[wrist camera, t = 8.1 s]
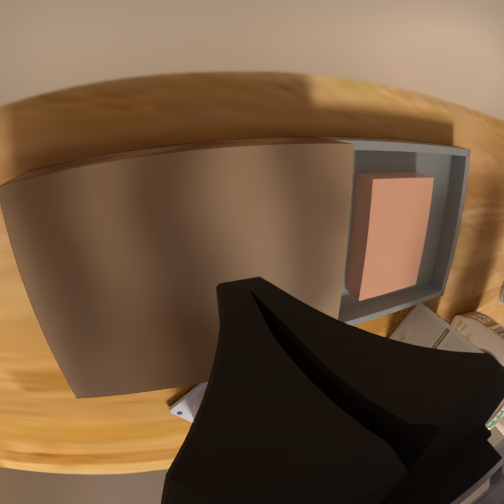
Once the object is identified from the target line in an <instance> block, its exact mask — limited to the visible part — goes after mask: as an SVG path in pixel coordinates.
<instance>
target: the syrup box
mask: <svg viewBox="0 0 504 504" xmlns="http://www.w3.org/2000/svg"><path fill="white" fill-rule="evenodd" d="M389 339H393V340H397V341H401V342H404V343H408V344H413V345H418V346H423V347H428V348H435V349H441V350H448V351H459V352H474V353H484V352H483V351H481V350H480V349H479V348H478V347H477V346H475V345H474V344H473V343H472V342H471V341H469V340H468V339H467V338H466V337H465V336H463V335H462V334H461V333H460V332H458V331H457V330H456V329H455V328H453V327H452V326H451V325H450V324H449V323H447V322H446V321H445V320H444V319H442V318H441V317H440V316H439V315H437V314H436V313H435V312H434V311H432V310H431V309H430V308H428V307H427V306H426V305H424V304H423V303H420V304H417V305H415V307H414V308H413V309H412V310H411V311H410V312H409V313H408V315H407V316H406V317H405V318H404V320H403V321H402V322H401V323H400V325H399V326H398V327H397V328H396V330H395V331H394V332H393V333H392V334H391V336H390V337H389ZM503 416H504V399H503V400H502V402H501V403H500V405H499V406H498V408H497V409H496V410H495V412H494V413H493V415H492V416H491V417H490V419H489V420H488V421H487V423H486V424H485V426H486V427H487V428H488V429H489V430H490V429H491V428H493V427H494V426H495V425H496V424H497V423H498V421H499V420H500V419H501V418H502V417H503Z"/></svg>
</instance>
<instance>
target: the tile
mask: <svg viewBox="0 0 504 504" xmlns="http://www.w3.org/2000/svg"><path fill="white" fill-rule="evenodd" d="M433 181H434V178H433V177H431V176H428V175H425V174H422V173H419V172H366V173H355V188H354V203H353V216H352V228H351V239H350V249H349V259H348V267H347V276H346V284H345V289H346V290H347V291H348V292H349V293H351V294H352V295H353V296H354V297H355V298H356V299H357V300H358V301H361V300H365V299H369V298H372V297H376V296H379V295H383V294H386V293H390V292H393V291H396V290H400V289H403V288H406V287H410V286H413V285H416V281H417V276H418V272H419V267H420V263H421V258H422V253H423V248H424V242H425V237H426V231H427V225H428V219H429V212H430V205H431V198H432V190H433Z"/></svg>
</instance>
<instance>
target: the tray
mask: <svg viewBox="0 0 504 504" xmlns="http://www.w3.org/2000/svg"><path fill="white" fill-rule="evenodd" d="M322 138H327V139H332V140H337V141H342V142H347V143H352V144H354V158H353V179H352V195H351V209H350V222H349V233H348V243H347V253H346V262H345V271H344V279H343V287H342V294H341V302H340V309H339V315H338V320H339V321H342V322H344V323H346V324H349V325H351V326H353V325H356V324H359V323H363V322H366V321H369V320H372V319H375V318H379V317H382V316H385V315H388V314H391V313H394V312H397V311H400V310H403V309H406V308H409V307H412V306H414V305H417V304H420V303H423V302H426V301H428V300H431V299H434V298H436V297H439V296H442V295H443V294H444V290H445V287H446V283H447V279H448V276H449V272H450V268H451V264H452V260H453V256H454V252H455V247H456V243H457V238H458V233H459V228H460V223H461V218H462V212H463V206H464V200H465V193H466V186H467V178H468V170H469V160H470V150H469V149H465V148H461V147H457V146H453V145H445V144H436V143H427V142H417V141H405V140H391V139H374V138H350V137H322ZM366 172H419V173H422V174H425V175H428V176H431V177H433V178H434V181H433V190H432V198H431V205H430V212H429V219H428V225H427V231H426V237H425V242H424V248H423V253H422V258H421V263H420V267H419V272H418V276H417V281H416V285H413V286H410V287H406V288H403V289H400V290H396V291H393V292H390V293H386V294H383V295H379V296H376V297H372V298H369V299H365V300H361V301H358V300H357V299H356V298H355V297H354V296H353V295H352V294H351V293H349V292H348V291H347V290H346V289H345V284H346V276H347V267H348V259H349V249H350V239H351V228H352V216H353V203H354V188H355V173H366Z"/></svg>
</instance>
